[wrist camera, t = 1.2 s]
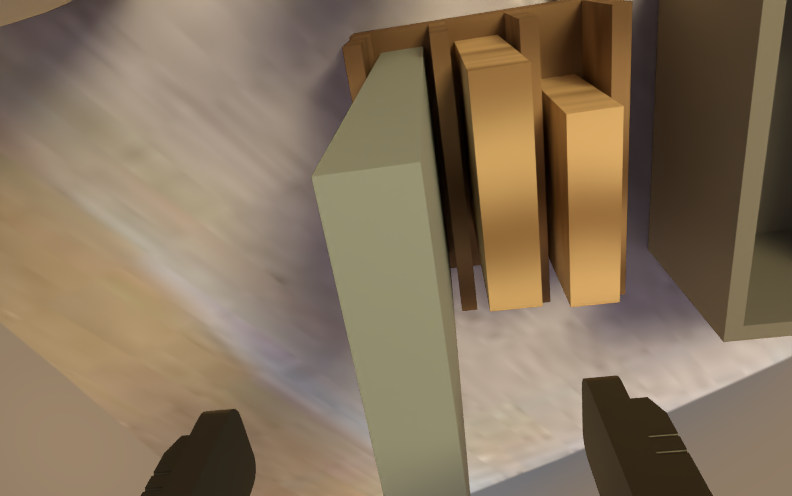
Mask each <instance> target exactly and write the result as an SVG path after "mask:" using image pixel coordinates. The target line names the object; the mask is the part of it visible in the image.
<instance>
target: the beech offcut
mask: <svg viewBox="0 0 792 496" xmlns="http://www.w3.org/2000/svg"><path fill="white" fill-rule="evenodd" d="M541 88H542V112H543V137H544V161H545V185H546V210H547V234H548V256H549V259H550V261H551V263H552V265H553V268H554V270H555V272H556V274H557V277H558V279H559V281H560V284H561V286H562V288H563V290H564V293H565V295H566V297H567V299H568V302H569V304H570V306H571V307H577V306H586V305H596V304H606V303H616V302H620V265H621V216H622V168H623V119H624V106H623V105H621V104H620V103H618V102H617V101H615V100H614V99H612V98H611V97H609V96H608V95H606V94H604V93H603V92H601V91H600V90H598V89H597V88H595V87H594V86H592V85H591V84H589V83H588V82H586V81H585V80H583V79H582V78H580V77H579V76H577V75H576V74H572V75H565V76H558V77H551V78H544V79H541Z"/></svg>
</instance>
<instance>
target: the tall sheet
mask: <svg viewBox="0 0 792 496" xmlns="http://www.w3.org/2000/svg"><path fill="white" fill-rule="evenodd" d="M311 178H312V182H313V186H314V191H315V195H316V200H317V204H318V208H319V213H320V217H321V222H322V226H323V230H324V235H325V239H326V244H327V248H328V252H329V257H330V261H331V266H332V270H333V275H334V279H335V283H336V288H337V292H338V297H339V301H340V305H341V310H342V314H343V319H344V323H345V327H346V332H347V336H348V341H349V345H350V349H351V354H352V358H353V363H354V367H355V371H356V376H357V380H358V385H359V389H360V394H361V398H362V402H363V407H364V411H365V416H366V420H367V424H368V429H369V433H370V438H371V442H372V446H373V451H374V455H375V460H376V464H377V468H378V473H379V477H380V482H381V486H382V490H383V495H384V496H470V487H469V476H468V464H467V453H466V441H465V430H464V418H463V407H462V395H461V384H460V372H459V361H458V349H457V338H456V326H455V315H454V303H453V292H452V280H451V269H450V258H449V248H448V240H447V232H446V224H445V216H444V208H443V200H442V192H441V184H440V176H439V168H438V160H437V152H436V144H435V136H434V128H433V120H432V112H431V104H430V96H429V88H428V80H427V72H426V64H425V56H424V48H423V46H422V47H416V48H409V49H403V50H396V51H390V52H384V53H381V54H380V56H379V58H378V59H377V61H376V63H375V65H374V66H373V68H372V70H371V72H370V74H369V75H368V77H367V79H366V81H365V82H364V84H363V86H362V88H361V90H360V91H359V93H358V95H357V97H356V98H355V100H354V102H353V104H352V105H351V107H350V109H349V111H348V113H347V114H346V116H345V118H344V120H343V121H342V123H341V125H340V127H339V129H338V130H337V132H336V134H335V136H334V137H333V139H332V141H331V143H330V144H329V146H328V148H327V150H326V152H325V153H324V155H323V157H322V159H321V160H320V162H319V164H318V166H317V167H316V169H315V171H314V173H313V175H312V176H311Z"/></svg>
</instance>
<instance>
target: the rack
mask: <svg viewBox="0 0 792 496" xmlns="http://www.w3.org/2000/svg"><path fill="white" fill-rule="evenodd" d="M493 35H499V36H500V37H501V38H502V39H503V40H505V41H506V42H507V43H508V44H510V45H511V46H512V47H513V48H514V49H516V50H517V51H518V52H519V53H521V54H522V55H523V56H524V57H525V58H527V59H528V60H529V61H530V62H531V74H532V95H533V116H534V137H535V158H536V179H537V200H538V221H539V241H540V262H541V283H542V303H544V302H550V283H549V259H548V257H549V256H548V234H547V210H546V185H545V161H544V137H543V112H542V88H541V79H544V78H551V77H558V76H565V75H572V74H576V75H577V76H579V77H580V78H582V79H583V80H585V81H586V82H588V83H589V84H591V85H592V86H594V87H595V88H597V89H598V90H600V91H601V92H603V93H604V94H606V95H608V96H609V97H611V98H612V99H614V100H615V101H617V102H618V103H620V104H621V105H623V106H624V119H623V168H622V216H621V265H620V295H621V294H625V279H626V239H627V199H628V159H629V119H630V79H631V39H632V1H624V0H560V1H554V2H547V3H541V4H535V5H529V6H522V7H516V8H510V9H504V10H497V11H491V12H485V13H479V14H472V15H466V16H460V17H454V18H447V19H441V20H435V21H429V22H422V23H416V24H410V25H404V26H398V27H391V28H385V29H379V30H373V31H366V32H360V33H354V34H353V35H351V36H350V37H349V38H350V41H349V42H348V43H347V44H346V45H344V46H343V47H342V49H343V55H344V60H345V65H346V71H347V76H348V82H349V87H350V93H351V98H352V104H353V102H354V100H355V98H356V97H357V95H358V93H359V91H360V90H361V88H362V86H363V84H364V82H365V81H366V79H367V77H368V75H369V74H370V72H371V70H372V68H373V66H374V65H375V63H376V61H377V59H378V58H379V56H380V54H381V53H384V52H390V51H396V50H403V49H409V48H416V47H422V46H423V48H424V56H425V64H426V72H427V80H428V88H429V96H430V104H431V112H432V120H433V128H434V136H435V144H436V152H437V160H438V168H439V176H440V184H441V192H442V200H443V208H444V216H445V224H446V232H447V240H448V248H449V258H450V268H455V267H457V270H458V279H459V287H460V295H461V304H462V311H468V310H477V301H476V291H475V282H474V272H473V265H481V261H480V256H479V251H478V245H477V240H476V235H475V230H474V225H473V220H472V210H471V200H470V190H469V180H468V171H467V161H466V151H465V141H464V131H463V122H462V112H461V102H460V92H459V82H458V73H457V63H456V53H455V43H454V41H461V40H467V39H474V38H480V37H486V36H493Z"/></svg>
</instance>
